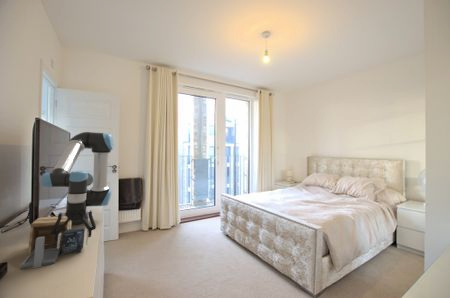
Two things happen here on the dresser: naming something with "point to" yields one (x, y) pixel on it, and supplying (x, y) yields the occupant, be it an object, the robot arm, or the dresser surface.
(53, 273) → the dresser surface
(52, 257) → the tray
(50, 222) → the cubby
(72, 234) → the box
